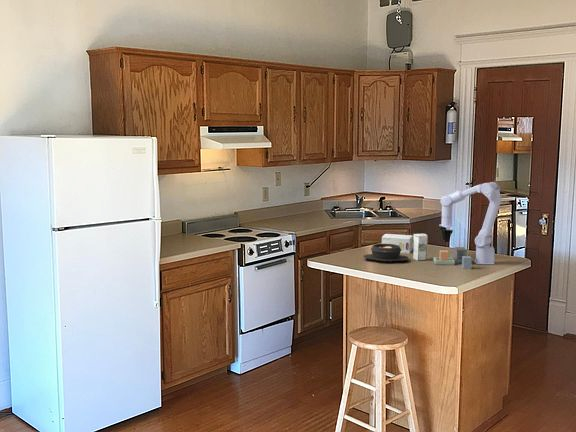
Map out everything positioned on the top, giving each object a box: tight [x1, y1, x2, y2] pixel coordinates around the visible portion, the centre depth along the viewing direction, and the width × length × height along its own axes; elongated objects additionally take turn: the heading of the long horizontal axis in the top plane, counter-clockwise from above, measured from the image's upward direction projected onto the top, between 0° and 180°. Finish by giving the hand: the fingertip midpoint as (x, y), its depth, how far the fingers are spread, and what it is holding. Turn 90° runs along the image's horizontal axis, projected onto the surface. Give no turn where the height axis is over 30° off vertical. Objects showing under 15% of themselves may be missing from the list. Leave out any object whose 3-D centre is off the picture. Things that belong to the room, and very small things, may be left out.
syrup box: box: [412, 233, 428, 262], centre depth 349 cm, size 6×6×14 cm
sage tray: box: [432, 256, 455, 266], centre depth 341 cm, size 10×10×2 cm
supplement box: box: [381, 233, 414, 254], centre depth 377 cm, size 17×13×9 cm
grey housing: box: [453, 246, 468, 266], centre depth 342 cm, size 7×11×8 cm, turn 174°
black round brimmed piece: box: [362, 243, 409, 263], centre depth 348 cm, size 25×19×8 cm
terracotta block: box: [438, 249, 449, 261], centre depth 341 cm, size 4×4×6 cm
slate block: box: [461, 256, 473, 270], centre depth 328 cm, size 4×4×6 cm
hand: (446, 240), depth 353 cm, fingers open, 7 cm apart
